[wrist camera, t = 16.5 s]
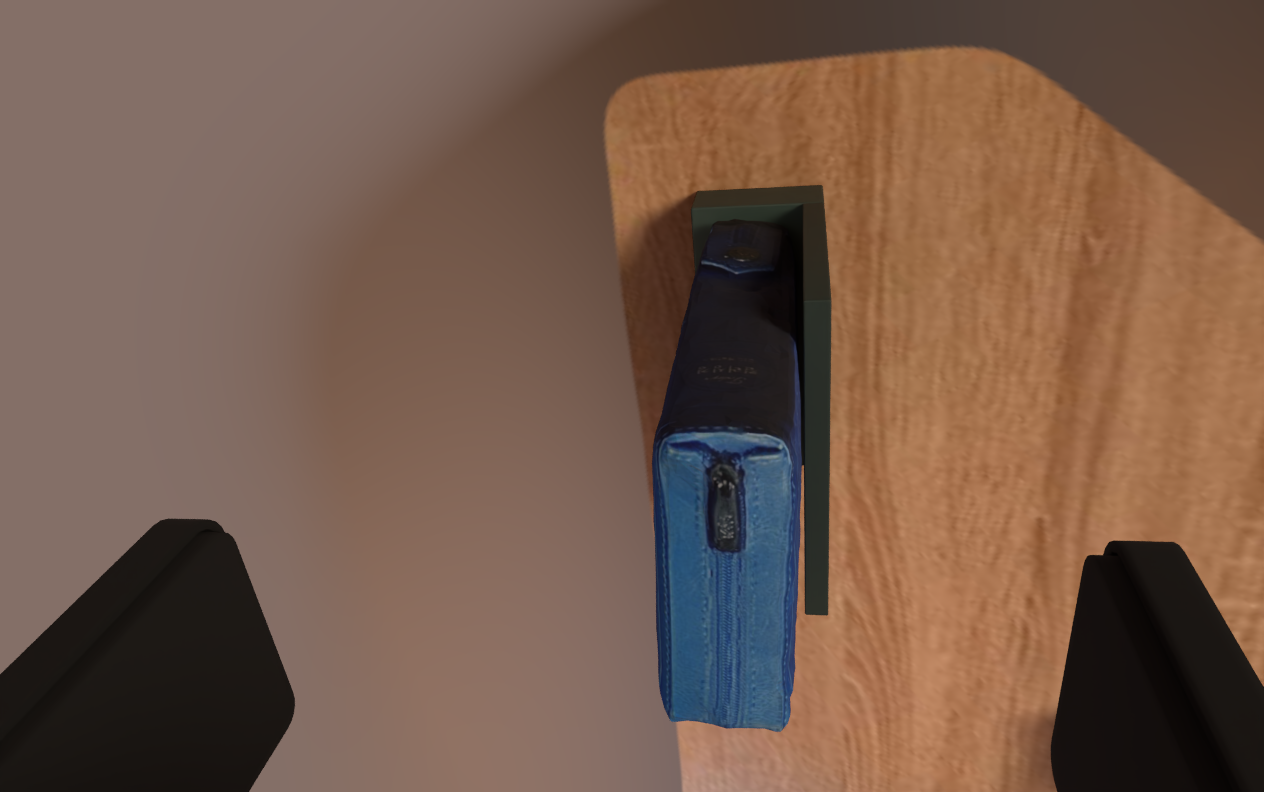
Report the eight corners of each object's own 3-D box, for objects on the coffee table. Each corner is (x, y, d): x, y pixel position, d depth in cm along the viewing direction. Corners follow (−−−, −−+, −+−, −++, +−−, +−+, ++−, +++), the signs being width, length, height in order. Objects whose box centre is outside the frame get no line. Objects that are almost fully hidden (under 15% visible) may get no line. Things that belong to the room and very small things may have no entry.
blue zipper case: (696, 211, 44) (627, 416, 27) (806, 211, 43) (809, 423, 26) (700, 458, 51) (648, 747, 33) (795, 462, 50) (792, 762, 33)
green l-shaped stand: (712, 437, 53) (683, 610, 41) (696, 190, 46) (656, 304, 33) (821, 438, 52) (828, 616, 39) (822, 184, 45) (831, 300, 32)
